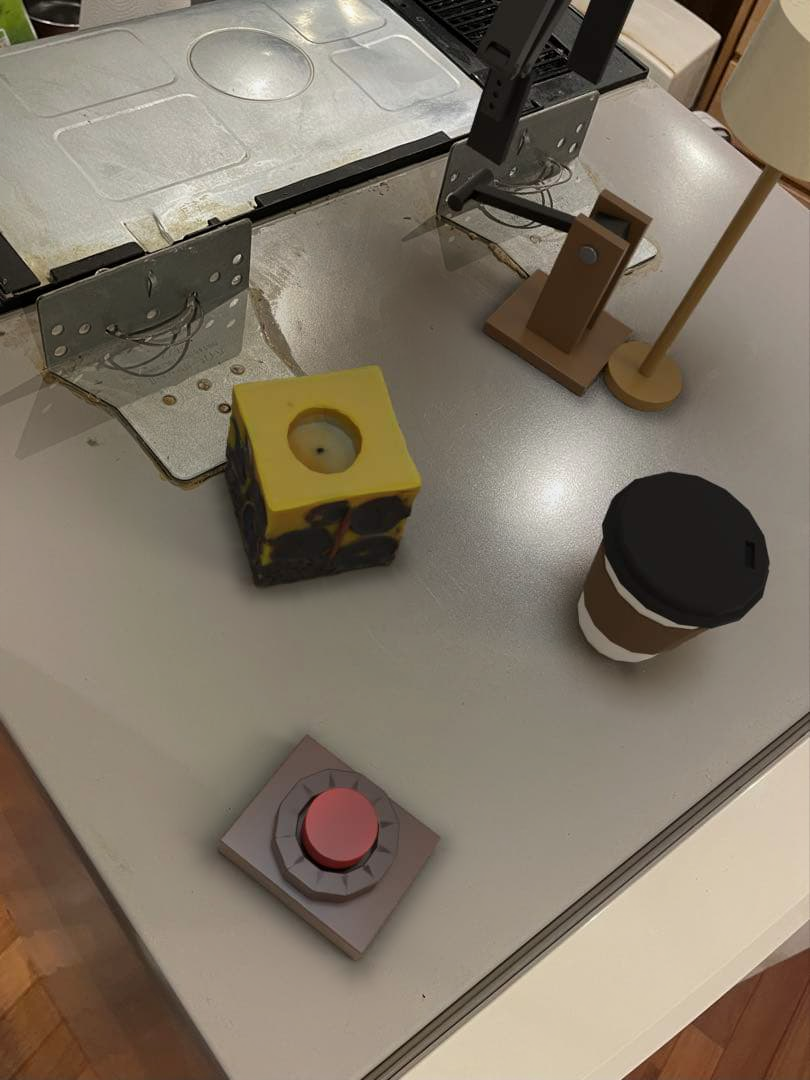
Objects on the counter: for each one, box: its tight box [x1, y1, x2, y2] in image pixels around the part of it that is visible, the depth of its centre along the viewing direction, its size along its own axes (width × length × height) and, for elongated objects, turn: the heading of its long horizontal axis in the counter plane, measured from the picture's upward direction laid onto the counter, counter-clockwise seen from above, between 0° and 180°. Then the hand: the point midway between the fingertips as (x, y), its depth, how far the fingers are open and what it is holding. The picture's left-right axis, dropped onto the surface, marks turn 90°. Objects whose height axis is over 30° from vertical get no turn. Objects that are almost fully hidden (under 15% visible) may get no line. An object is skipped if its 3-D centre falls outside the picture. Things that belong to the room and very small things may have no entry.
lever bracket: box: [481, 188, 654, 398], centre depth 79 cm, size 10×9×13 cm
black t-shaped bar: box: [447, 167, 631, 241], centre depth 77 cm, size 14×5×2 cm, turn 55°
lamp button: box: [301, 788, 378, 869], centre depth 54 cm, size 4×4×2 cm
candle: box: [224, 364, 423, 587], centre depth 66 cm, size 10×10×10 cm
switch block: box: [217, 734, 442, 961], centre depth 57 cm, size 10×8×4 cm
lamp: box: [602, 0, 810, 412], centre depth 71 cm, size 11×11×32 cm
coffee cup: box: [577, 470, 771, 663], centre depth 66 cm, size 11×11×12 cm
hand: (536, 112), depth 69 cm, fingers open, 13 cm apart
